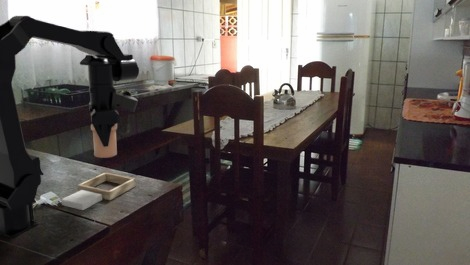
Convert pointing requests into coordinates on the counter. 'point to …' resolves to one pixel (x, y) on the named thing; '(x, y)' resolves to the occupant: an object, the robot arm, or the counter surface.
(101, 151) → the terracotta pot
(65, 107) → the counter surface
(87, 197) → the stone tile
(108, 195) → the beige square frame
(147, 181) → the counter surface
